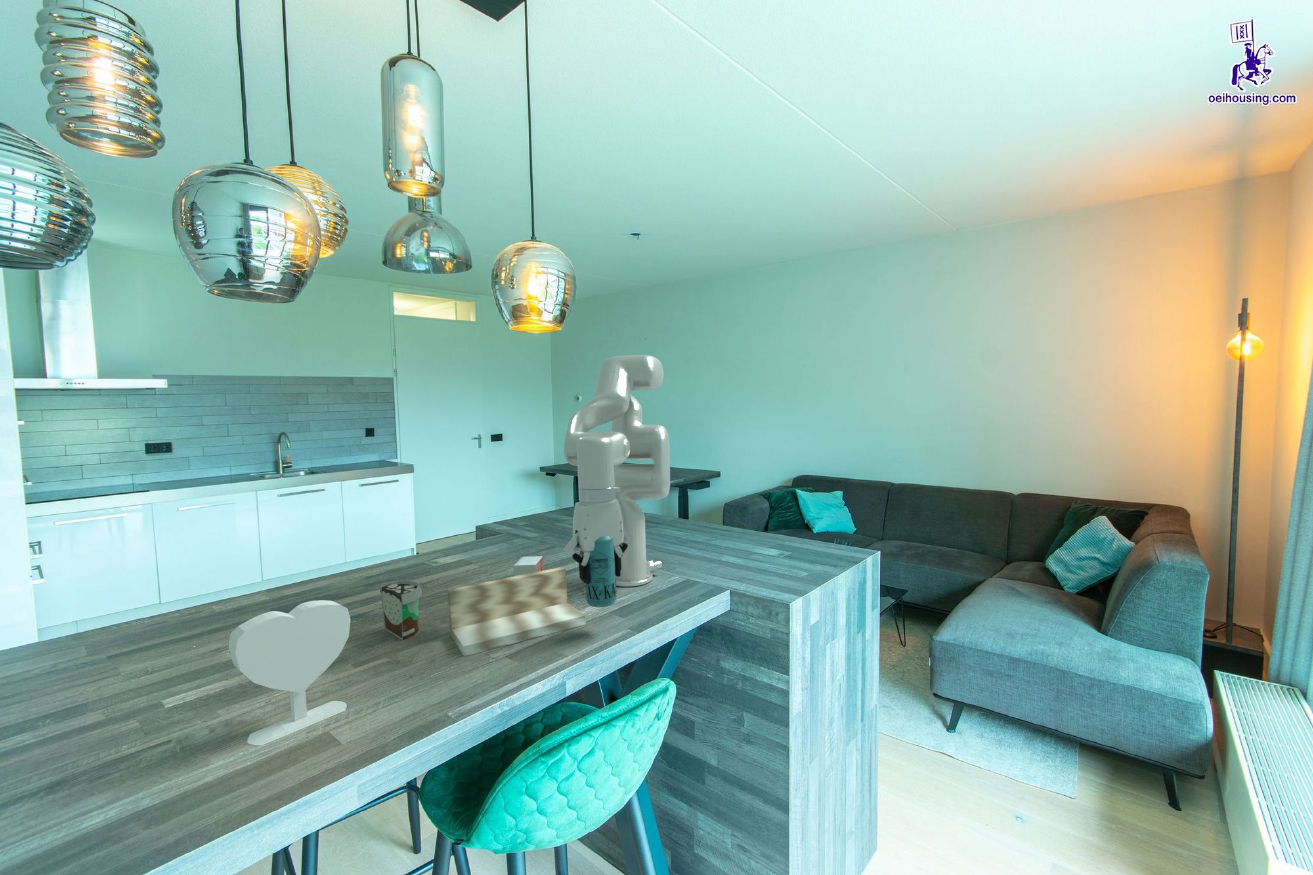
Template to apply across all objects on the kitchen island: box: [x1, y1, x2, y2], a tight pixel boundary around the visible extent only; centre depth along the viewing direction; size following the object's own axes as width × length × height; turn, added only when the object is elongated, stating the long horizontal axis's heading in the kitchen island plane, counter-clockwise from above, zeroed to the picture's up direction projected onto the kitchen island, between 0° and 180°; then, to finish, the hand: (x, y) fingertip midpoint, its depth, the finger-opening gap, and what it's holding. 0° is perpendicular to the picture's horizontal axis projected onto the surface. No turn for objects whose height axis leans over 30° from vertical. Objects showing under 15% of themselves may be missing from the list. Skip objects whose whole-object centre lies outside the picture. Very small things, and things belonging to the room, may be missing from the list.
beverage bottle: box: [584, 536, 618, 608], centre depth 118 cm, size 6×7×20 cm
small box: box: [513, 555, 545, 577], centre depth 137 cm, size 8×6×10 cm
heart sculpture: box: [228, 599, 352, 747], centre depth 87 cm, size 16×5×18 cm, turn 140°
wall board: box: [447, 566, 587, 657], centre depth 121 cm, size 26×12×10 cm, turn 122°
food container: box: [379, 580, 423, 641], centre depth 123 cm, size 12×6×10 cm, turn 47°
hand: (601, 577), depth 118 cm, fingers closed on beverage bottle, 6 cm apart
